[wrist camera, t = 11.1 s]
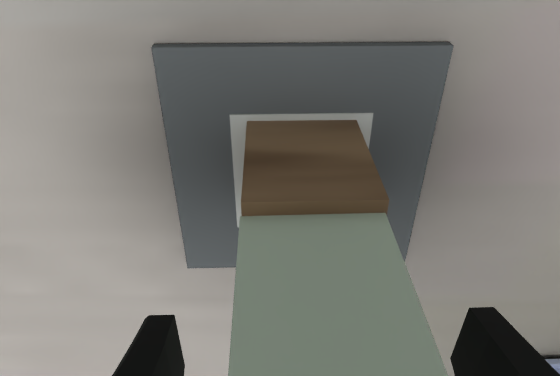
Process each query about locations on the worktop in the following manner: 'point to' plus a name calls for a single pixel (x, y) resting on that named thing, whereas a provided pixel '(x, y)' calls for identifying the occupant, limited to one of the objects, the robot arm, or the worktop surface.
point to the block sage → (326, 300)
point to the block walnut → (309, 169)
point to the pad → (287, 107)
